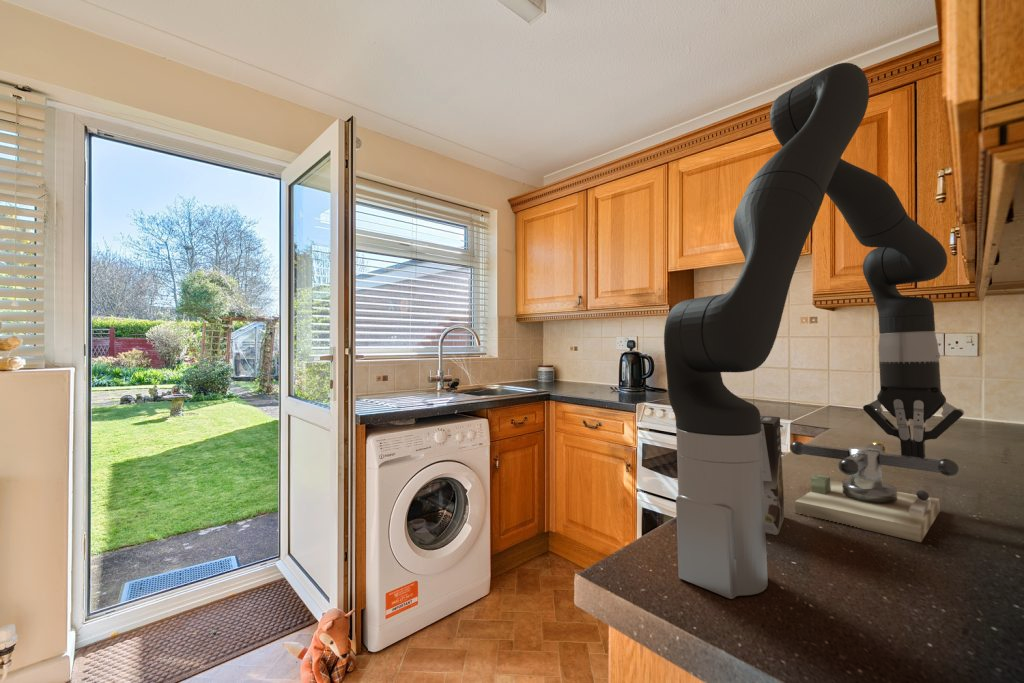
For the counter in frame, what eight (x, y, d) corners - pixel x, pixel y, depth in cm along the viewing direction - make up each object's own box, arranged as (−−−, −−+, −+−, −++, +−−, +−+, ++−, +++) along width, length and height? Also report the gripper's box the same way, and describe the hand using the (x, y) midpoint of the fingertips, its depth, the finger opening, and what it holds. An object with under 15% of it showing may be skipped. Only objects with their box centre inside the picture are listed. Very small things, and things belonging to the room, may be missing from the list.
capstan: (952, 535, 55) (948, 474, 56) (768, 496, 72) (766, 449, 72) (969, 498, 69) (966, 449, 69) (811, 472, 86) (809, 433, 86)
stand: (920, 542, 59) (919, 509, 59) (795, 513, 70) (794, 486, 71) (939, 511, 70) (938, 483, 70) (829, 490, 82) (828, 467, 82)
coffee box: (780, 536, 62) (775, 423, 62) (730, 526, 66) (726, 420, 66) (786, 517, 69) (781, 416, 70) (741, 509, 73) (737, 413, 74)
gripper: (853, 360, 76) (858, 459, 75) (961, 359, 66) (968, 474, 65) (864, 359, 81) (869, 453, 80) (966, 358, 70) (973, 466, 70)
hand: (913, 462), depth 72 cm, fingers closed
